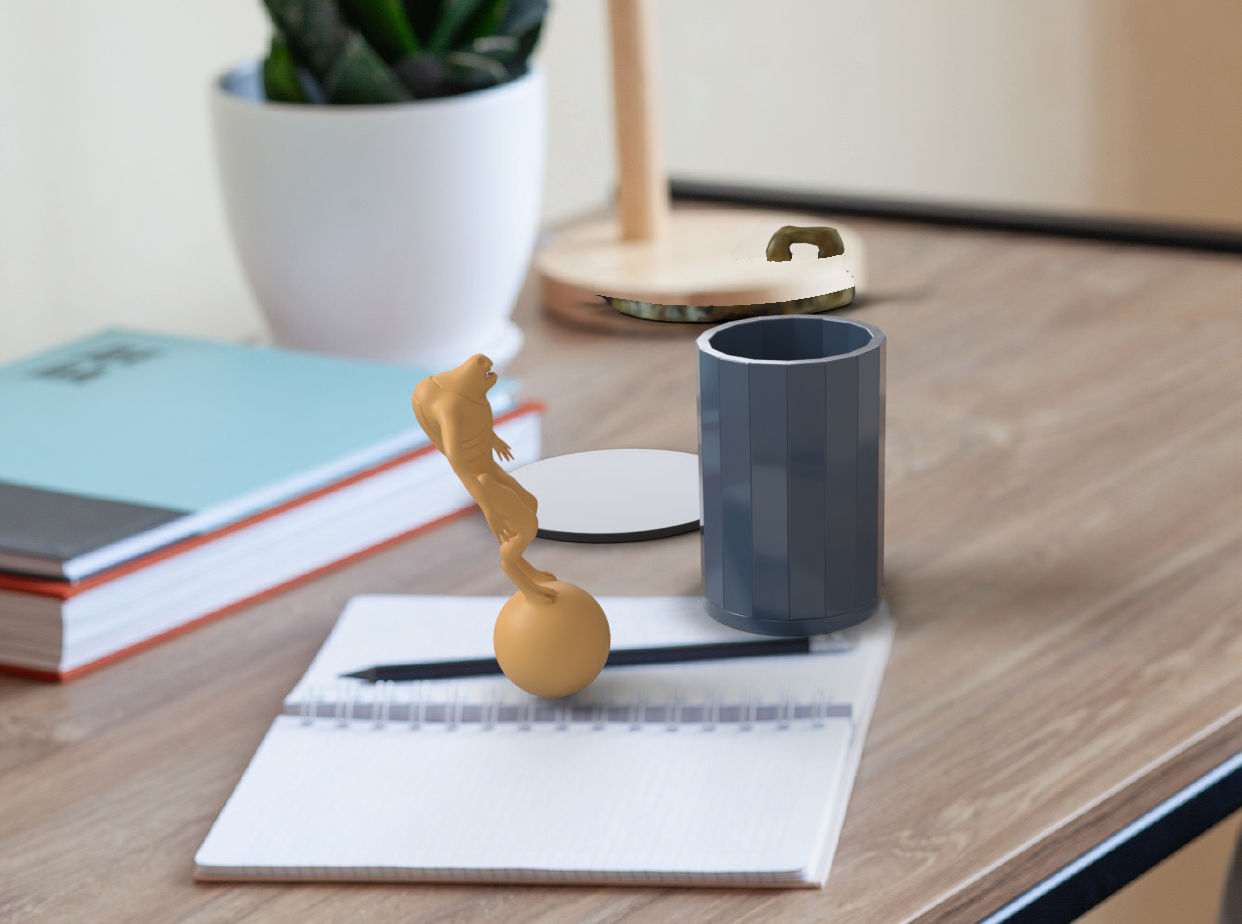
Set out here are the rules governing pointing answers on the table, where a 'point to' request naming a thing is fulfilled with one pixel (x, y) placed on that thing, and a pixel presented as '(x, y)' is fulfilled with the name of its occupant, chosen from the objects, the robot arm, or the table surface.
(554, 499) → the coaster
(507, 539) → the figurine
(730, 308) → the seal
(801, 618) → the cup
